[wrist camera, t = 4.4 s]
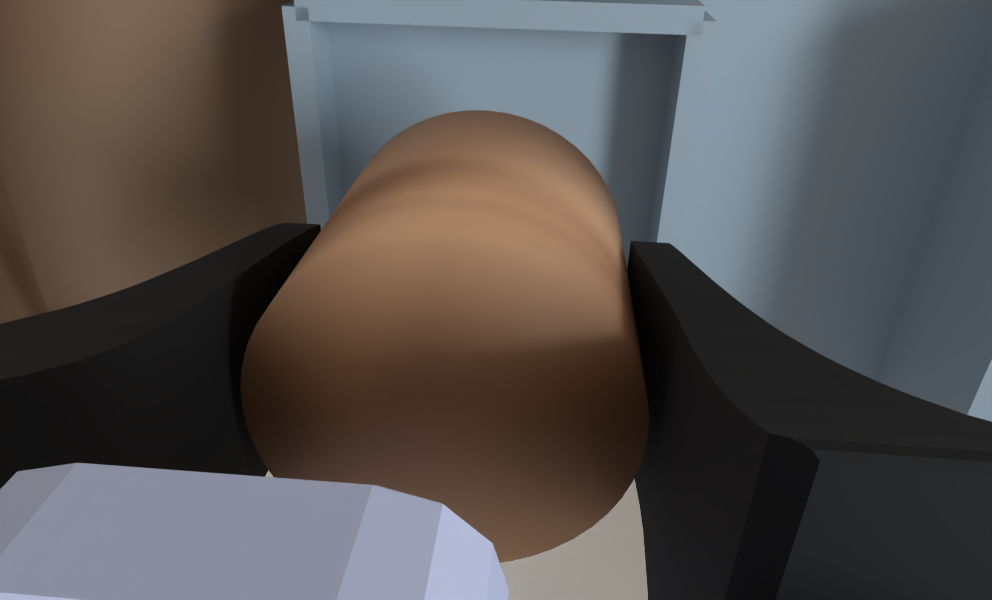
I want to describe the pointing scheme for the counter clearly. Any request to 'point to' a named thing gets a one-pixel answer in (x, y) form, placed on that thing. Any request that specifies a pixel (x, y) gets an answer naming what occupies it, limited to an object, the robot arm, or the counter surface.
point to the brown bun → (461, 336)
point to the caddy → (137, 141)
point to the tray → (718, 146)
